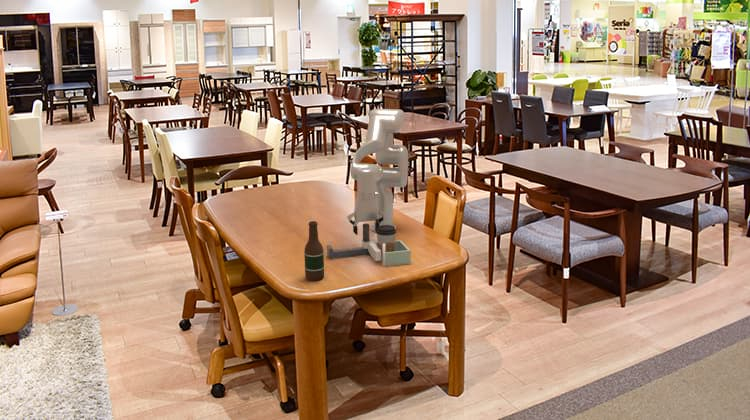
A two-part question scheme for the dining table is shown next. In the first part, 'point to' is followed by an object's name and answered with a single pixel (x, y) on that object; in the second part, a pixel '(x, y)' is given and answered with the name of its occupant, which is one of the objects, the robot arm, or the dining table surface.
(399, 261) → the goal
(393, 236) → the coffee cup
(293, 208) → the dining table surface
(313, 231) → the beer bottle
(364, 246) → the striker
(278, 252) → the dining table surface
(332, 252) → the rail
